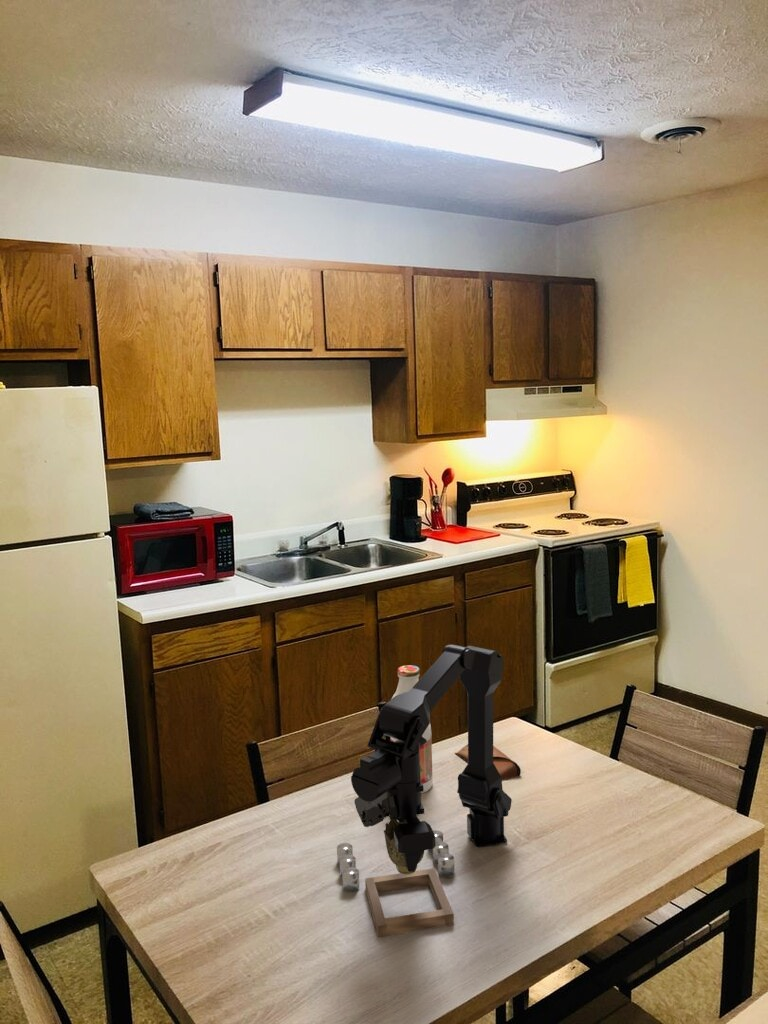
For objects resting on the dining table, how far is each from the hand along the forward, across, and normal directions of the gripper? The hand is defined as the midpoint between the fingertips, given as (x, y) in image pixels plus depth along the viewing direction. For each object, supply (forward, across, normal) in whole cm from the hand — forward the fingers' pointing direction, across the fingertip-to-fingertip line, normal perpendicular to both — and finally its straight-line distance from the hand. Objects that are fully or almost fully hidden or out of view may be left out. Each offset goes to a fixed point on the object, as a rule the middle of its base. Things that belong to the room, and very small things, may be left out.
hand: (406, 859), depth 135 cm
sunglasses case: (+10, -46, +29) cm, 56 cm away
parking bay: (+9, 0, 0) cm, 9 cm away
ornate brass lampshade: (+2, 0, 0) cm, 2 cm away
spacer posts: (+9, -11, 0) cm, 14 cm away
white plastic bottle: (+9, -41, +10) cm, 43 cm away
